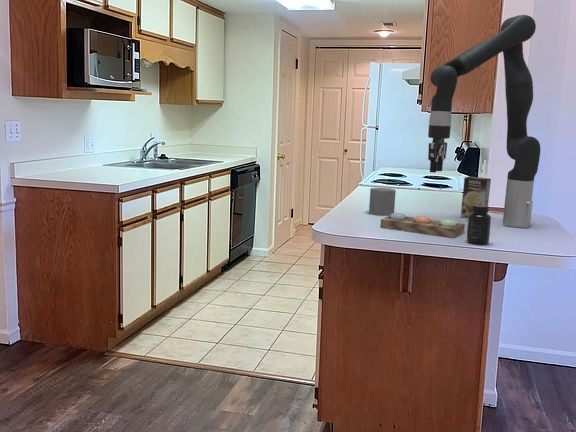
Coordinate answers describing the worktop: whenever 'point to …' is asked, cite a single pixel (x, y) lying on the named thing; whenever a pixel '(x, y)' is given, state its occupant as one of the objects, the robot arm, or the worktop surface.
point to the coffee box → (474, 194)
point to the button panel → (423, 227)
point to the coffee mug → (382, 201)
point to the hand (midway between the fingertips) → (436, 171)
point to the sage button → (448, 223)
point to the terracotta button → (422, 219)
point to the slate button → (398, 216)
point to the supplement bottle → (479, 225)
